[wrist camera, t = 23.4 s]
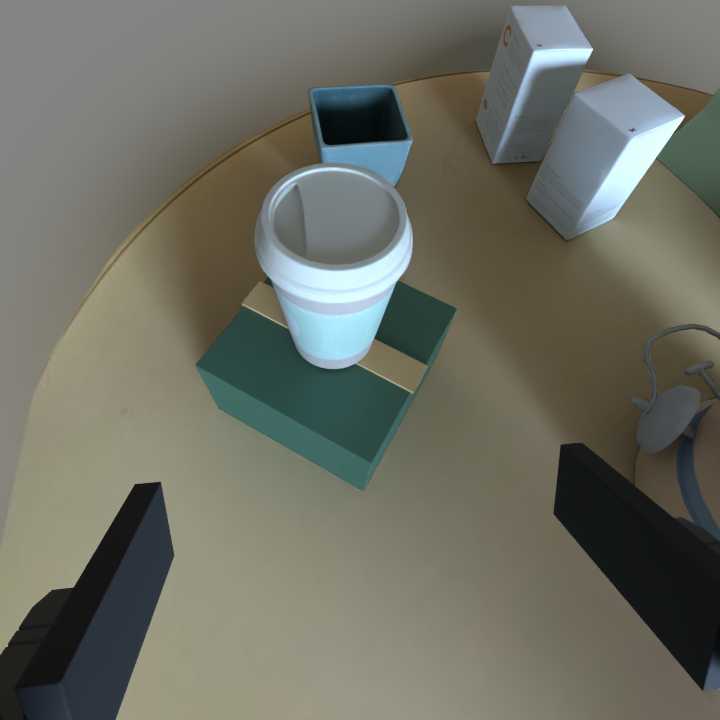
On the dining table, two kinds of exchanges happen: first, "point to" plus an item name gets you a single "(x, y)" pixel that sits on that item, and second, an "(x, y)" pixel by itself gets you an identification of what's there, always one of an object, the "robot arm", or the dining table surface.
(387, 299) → the coffee cup
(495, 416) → the dining table surface
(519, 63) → the small box
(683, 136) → the green gift bag
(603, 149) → the white packaging box
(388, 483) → the dining table surface
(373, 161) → the flower pot
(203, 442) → the dining table surface
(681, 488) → the alarm clock
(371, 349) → the green parcel box
